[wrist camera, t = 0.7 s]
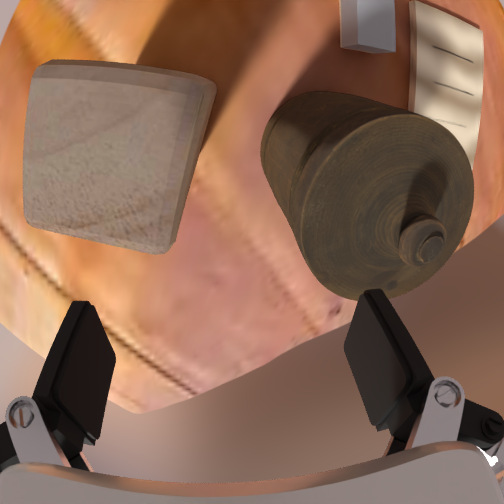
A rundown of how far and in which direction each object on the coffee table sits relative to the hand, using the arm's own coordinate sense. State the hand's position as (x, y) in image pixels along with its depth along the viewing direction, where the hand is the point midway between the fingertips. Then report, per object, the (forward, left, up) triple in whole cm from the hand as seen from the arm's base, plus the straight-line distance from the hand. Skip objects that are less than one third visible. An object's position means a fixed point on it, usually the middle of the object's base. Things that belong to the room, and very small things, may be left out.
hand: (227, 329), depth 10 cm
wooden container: (0, +12, -27) cm, 29 cm away
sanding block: (-17, +16, -27) cm, 35 cm away
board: (-10, +30, -26) cm, 41 cm away
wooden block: (-5, -6, -27) cm, 28 cm away
